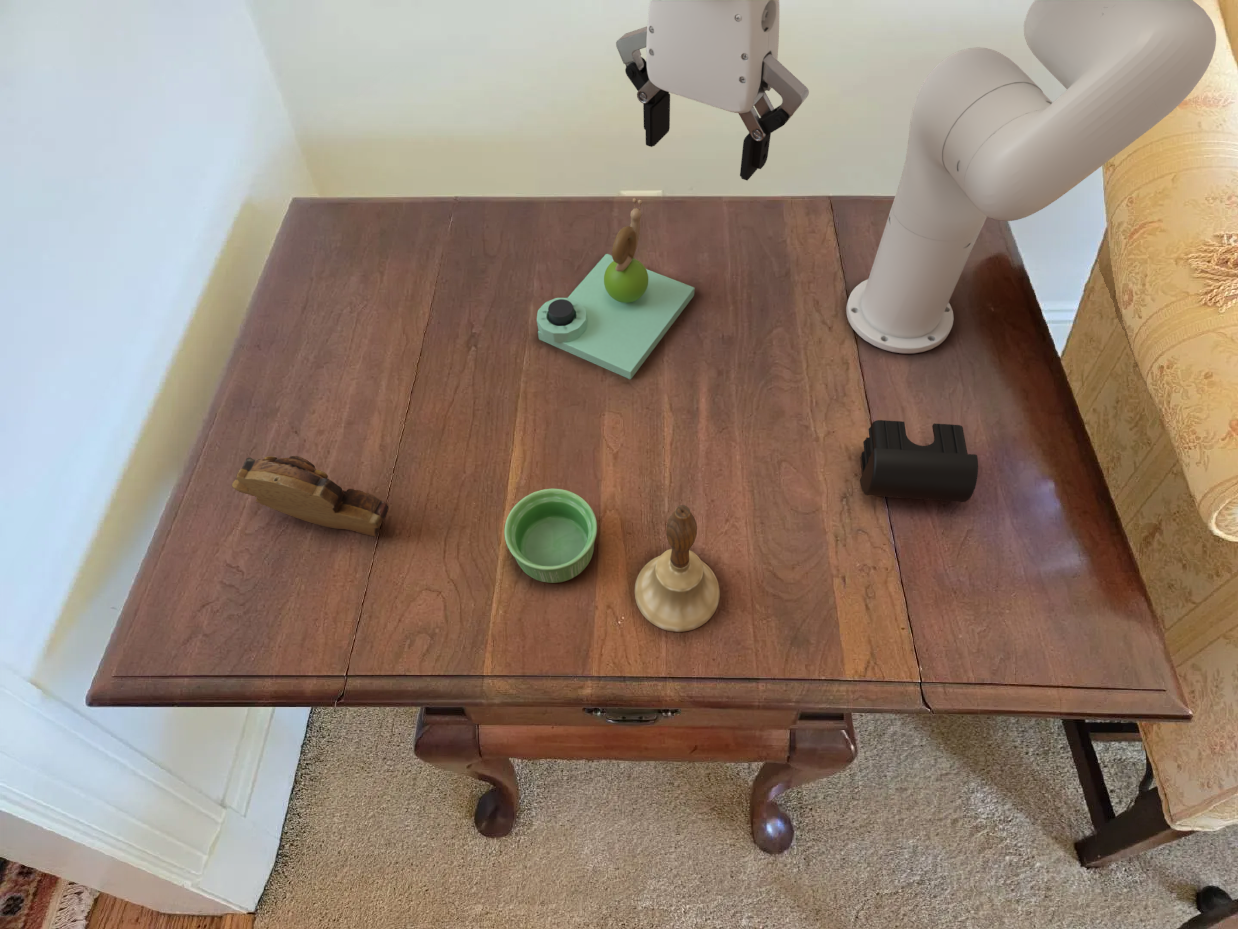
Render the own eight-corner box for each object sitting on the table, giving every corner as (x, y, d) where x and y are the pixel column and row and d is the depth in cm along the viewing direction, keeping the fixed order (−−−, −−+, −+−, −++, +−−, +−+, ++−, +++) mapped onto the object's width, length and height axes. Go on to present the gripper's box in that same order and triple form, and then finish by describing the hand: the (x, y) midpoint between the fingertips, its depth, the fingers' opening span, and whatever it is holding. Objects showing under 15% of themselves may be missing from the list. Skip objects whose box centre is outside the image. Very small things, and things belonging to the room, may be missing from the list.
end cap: (860, 509, 80) (876, 473, 75) (855, 453, 84) (870, 415, 79) (959, 516, 80) (983, 481, 74) (949, 459, 84) (971, 421, 78)
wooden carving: (406, 511, 82) (379, 458, 73) (390, 549, 79) (361, 498, 71) (263, 486, 84) (221, 431, 75) (243, 522, 81) (197, 470, 73)
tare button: (558, 305, 94) (557, 295, 93) (579, 313, 93) (578, 304, 92) (544, 320, 93) (543, 311, 92) (565, 329, 92) (564, 320, 91)
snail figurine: (658, 283, 98) (660, 203, 88) (637, 317, 95) (636, 238, 85) (619, 271, 99) (616, 191, 89) (597, 304, 96) (592, 225, 86)
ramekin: (515, 509, 81) (509, 487, 78) (601, 511, 81) (599, 488, 77) (505, 588, 76) (498, 568, 73) (596, 590, 76) (594, 570, 72)
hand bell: (713, 639, 73) (729, 563, 60) (627, 623, 74) (623, 545, 61) (724, 561, 77) (741, 474, 64) (643, 547, 78) (643, 459, 65)
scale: (600, 259, 103) (599, 241, 100) (694, 295, 98) (695, 277, 96) (530, 339, 95) (527, 321, 92) (628, 382, 91) (628, 365, 88)
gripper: (849, -52, 55) (809, 161, 69) (641, -100, 60) (644, 106, 75) (802, -6, 51) (771, 209, 65) (587, -61, 57) (600, 147, 71)
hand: (703, 154), depth 70 cm, fingers open, 9 cm apart
